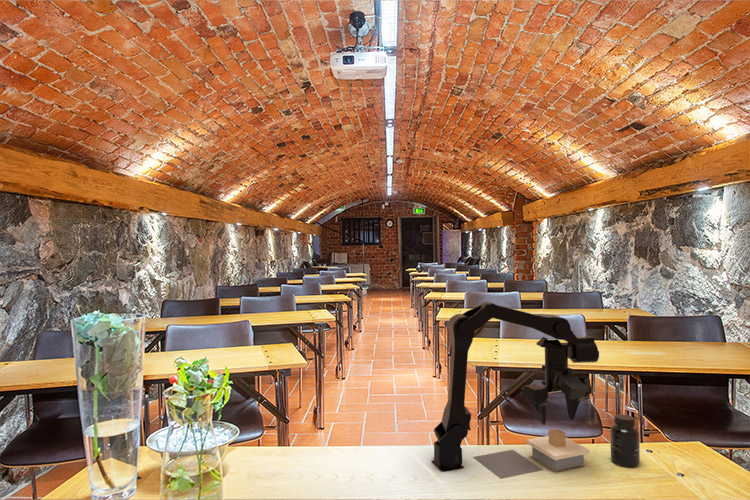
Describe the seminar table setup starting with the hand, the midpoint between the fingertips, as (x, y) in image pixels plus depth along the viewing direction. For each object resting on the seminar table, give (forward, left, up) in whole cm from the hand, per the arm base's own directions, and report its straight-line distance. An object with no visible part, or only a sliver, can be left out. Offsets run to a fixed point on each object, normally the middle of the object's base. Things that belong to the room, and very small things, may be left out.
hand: (557, 421), depth 123 cm
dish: (0, 0, -11) cm, 11 cm away
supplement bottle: (+17, -6, -11) cm, 21 cm away
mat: (-13, +4, -11) cm, 18 cm away
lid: (0, 0, -7) cm, 7 cm away
